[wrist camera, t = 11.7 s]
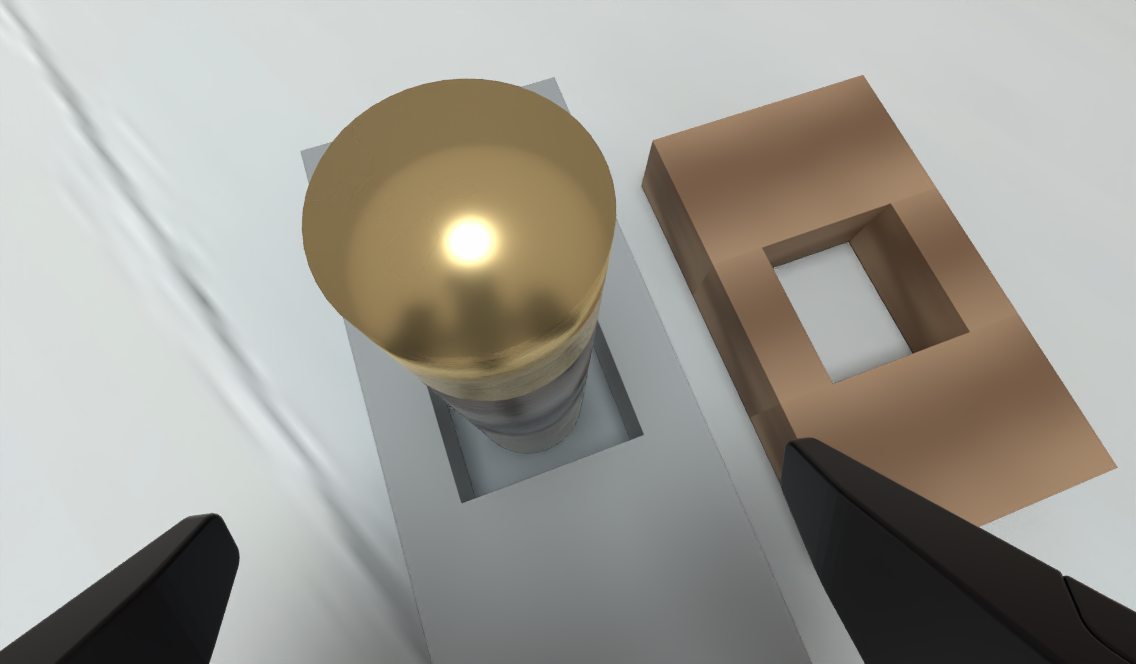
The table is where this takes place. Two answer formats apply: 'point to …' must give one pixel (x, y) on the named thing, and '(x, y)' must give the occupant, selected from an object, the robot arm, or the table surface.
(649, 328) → the board
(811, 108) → the socket block
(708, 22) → the table surface
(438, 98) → the gold capped metal post
